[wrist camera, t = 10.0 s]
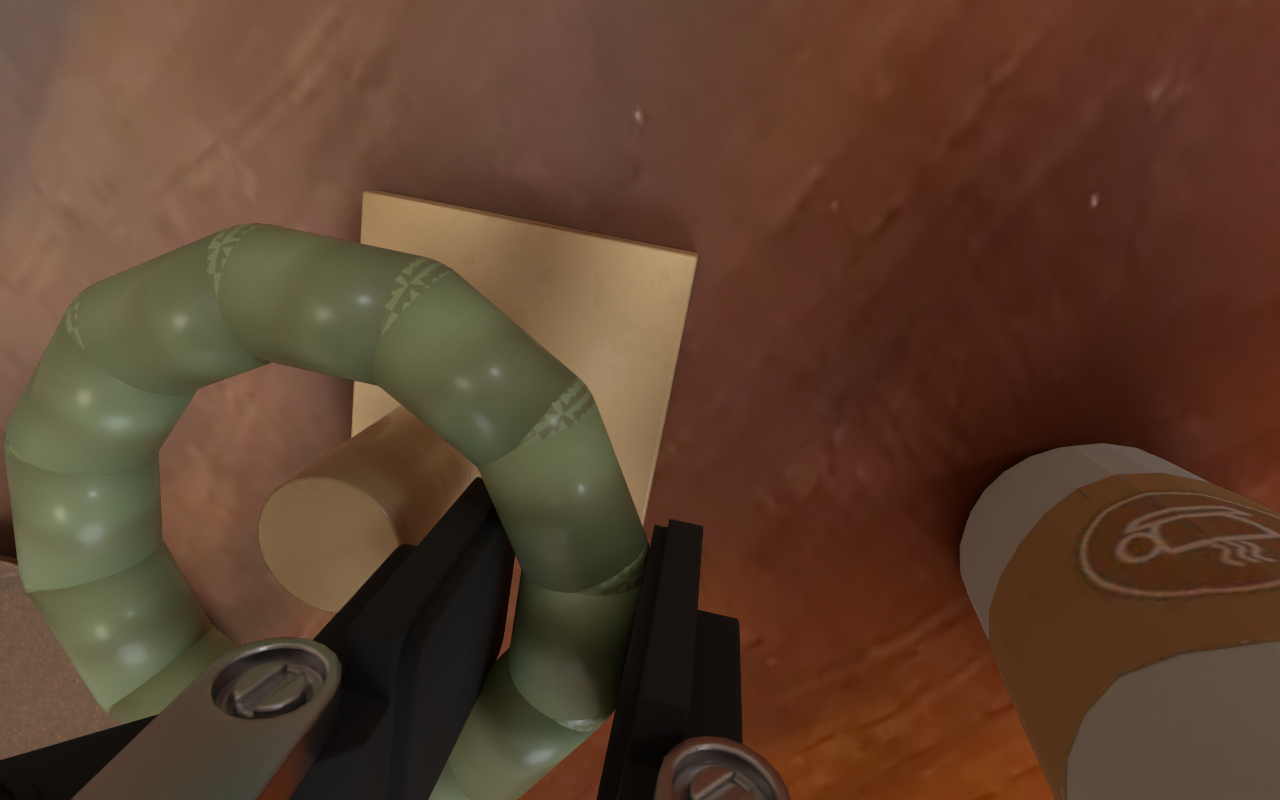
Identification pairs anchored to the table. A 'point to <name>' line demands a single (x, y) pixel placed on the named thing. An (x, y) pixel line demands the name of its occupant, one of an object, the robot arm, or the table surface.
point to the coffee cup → (1132, 624)
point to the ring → (347, 348)
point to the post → (543, 307)
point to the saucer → (38, 678)
